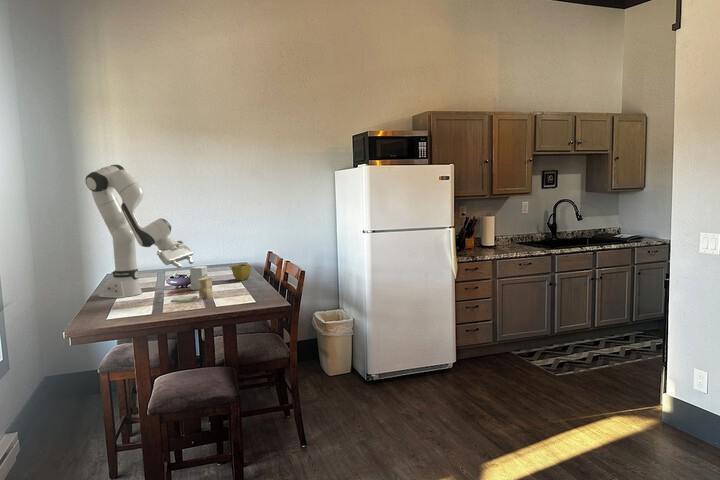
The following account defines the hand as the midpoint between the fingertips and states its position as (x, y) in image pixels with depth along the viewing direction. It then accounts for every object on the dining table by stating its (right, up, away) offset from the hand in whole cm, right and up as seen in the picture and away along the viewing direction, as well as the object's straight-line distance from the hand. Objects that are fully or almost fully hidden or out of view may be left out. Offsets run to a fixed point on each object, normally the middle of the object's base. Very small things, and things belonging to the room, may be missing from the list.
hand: (186, 265), depth 290 cm
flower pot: (+20, -11, +46) cm, 52 cm away
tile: (+1, -18, -6) cm, 19 cm away
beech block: (+11, -17, -2) cm, 20 cm away
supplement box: (+1, -15, +23) cm, 27 cm away
